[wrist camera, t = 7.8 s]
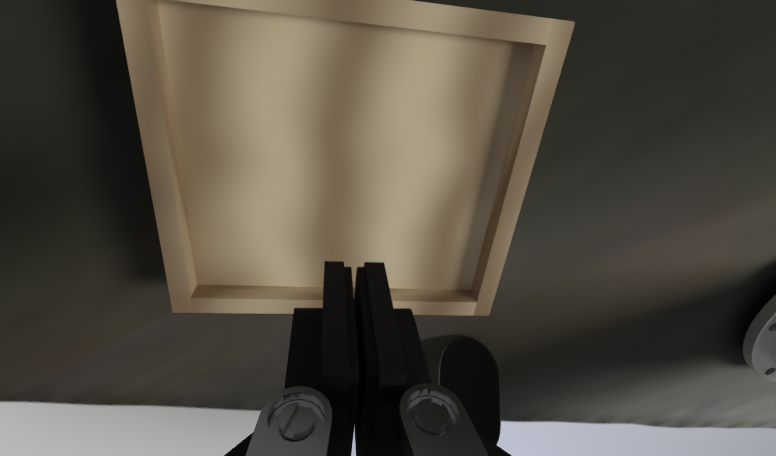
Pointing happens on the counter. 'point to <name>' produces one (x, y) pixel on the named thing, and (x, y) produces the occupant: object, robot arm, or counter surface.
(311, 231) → the beech platter
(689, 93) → the counter surface
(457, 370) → the stand
